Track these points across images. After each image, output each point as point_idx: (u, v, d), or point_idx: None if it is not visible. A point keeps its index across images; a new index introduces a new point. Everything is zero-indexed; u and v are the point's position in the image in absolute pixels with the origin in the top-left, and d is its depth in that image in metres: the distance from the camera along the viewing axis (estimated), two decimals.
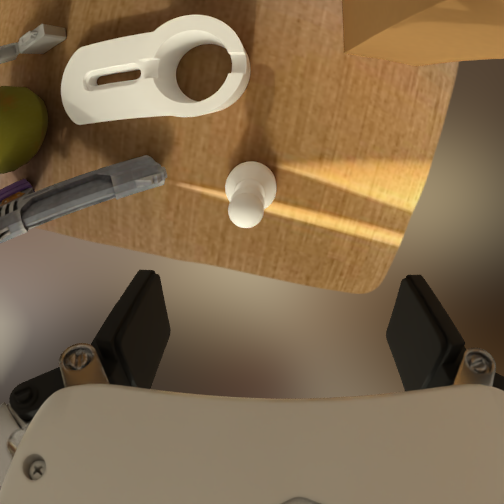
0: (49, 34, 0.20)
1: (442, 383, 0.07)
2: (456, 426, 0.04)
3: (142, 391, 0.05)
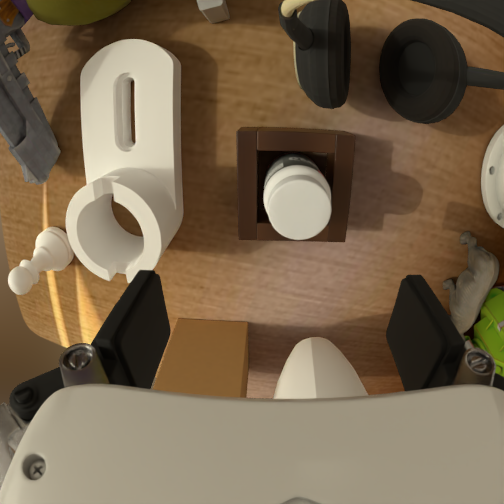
0: (204, 13, 0.17)
1: (442, 383, 0.07)
2: (456, 426, 0.04)
3: (142, 391, 0.05)
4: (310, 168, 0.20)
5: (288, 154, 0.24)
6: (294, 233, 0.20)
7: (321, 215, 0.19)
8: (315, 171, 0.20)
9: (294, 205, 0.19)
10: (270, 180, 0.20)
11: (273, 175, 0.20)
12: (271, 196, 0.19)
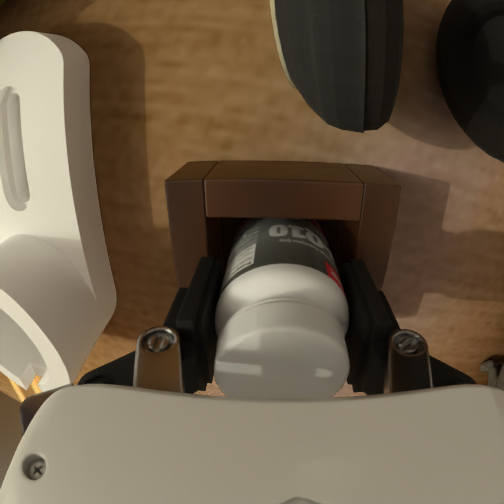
0: None
1: (371, 363, 0.08)
2: (456, 426, 0.04)
3: (142, 391, 0.05)
4: (310, 271, 0.09)
5: None
6: None
7: (327, 382, 0.08)
8: (321, 278, 0.09)
9: (268, 370, 0.08)
10: (225, 295, 0.10)
11: (231, 284, 0.10)
12: (219, 352, 0.08)
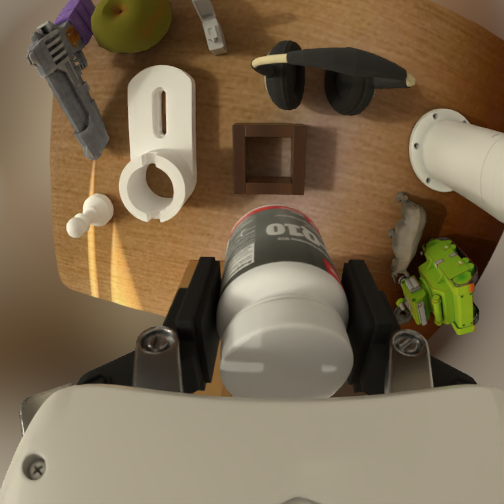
0: (212, 51, 0.31)
1: (371, 363, 0.08)
2: (456, 426, 0.04)
3: (142, 391, 0.05)
4: (311, 269, 0.10)
5: (266, 212, 0.14)
6: None
7: (331, 377, 0.09)
8: (321, 275, 0.10)
9: (275, 367, 0.08)
10: (226, 295, 0.10)
11: (233, 283, 0.10)
12: (225, 352, 0.08)
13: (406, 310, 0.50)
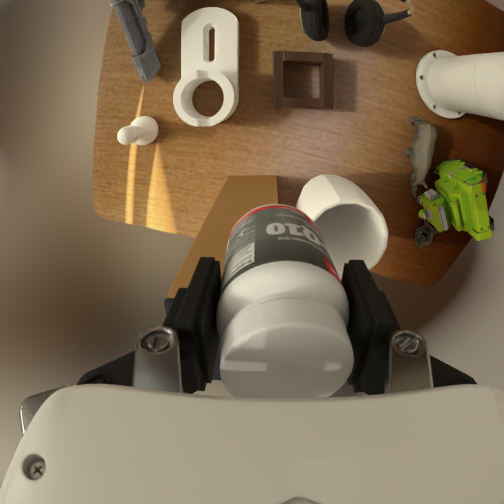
0: None
1: (371, 363, 0.08)
2: (456, 426, 0.04)
3: (142, 391, 0.05)
4: (311, 268, 0.10)
5: (266, 212, 0.14)
6: None
7: (332, 377, 0.09)
8: (322, 274, 0.09)
9: (275, 367, 0.08)
10: (227, 294, 0.10)
11: (233, 283, 0.10)
12: (225, 352, 0.08)
13: (426, 232, 0.52)
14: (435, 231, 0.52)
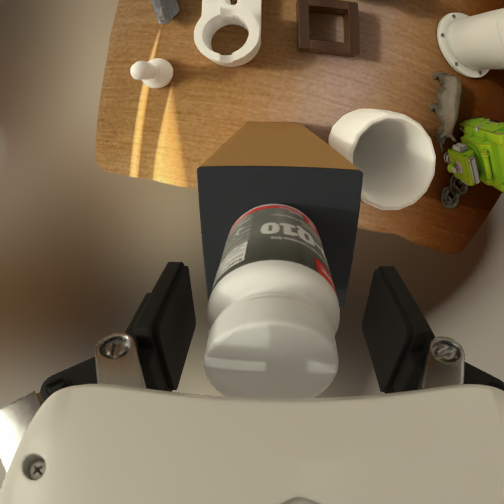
0: None
1: (409, 371, 0.08)
2: (456, 426, 0.04)
3: (142, 391, 0.05)
4: (300, 268, 0.10)
5: (264, 211, 0.14)
6: None
7: (316, 378, 0.09)
8: (310, 274, 0.10)
9: (258, 365, 0.08)
10: (216, 291, 0.10)
11: (222, 280, 0.10)
12: (208, 347, 0.08)
13: (453, 193, 0.47)
14: (461, 193, 0.46)
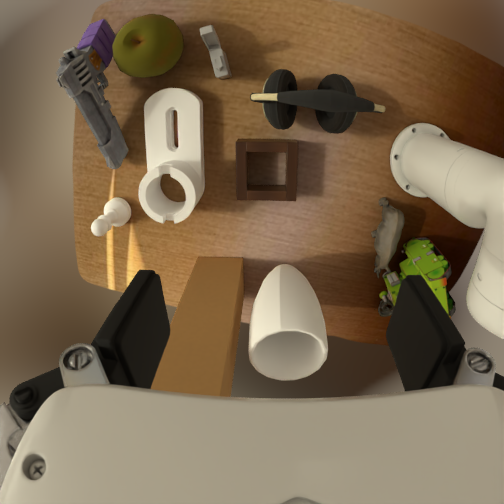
0: (218, 77, 0.38)
1: (442, 383, 0.07)
2: (456, 426, 0.04)
3: (142, 391, 0.05)
4: None
5: None
6: None
7: None
8: None
9: None
10: None
11: None
12: None
13: (391, 303, 0.57)
14: None
